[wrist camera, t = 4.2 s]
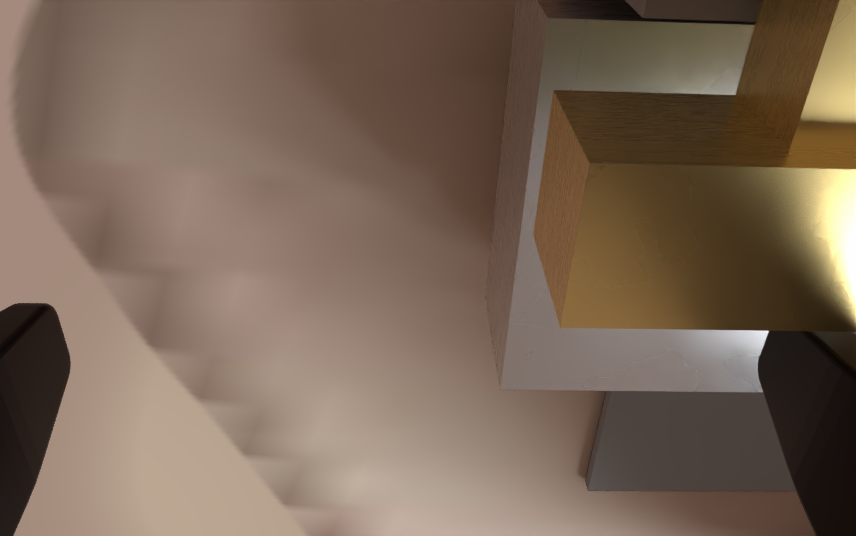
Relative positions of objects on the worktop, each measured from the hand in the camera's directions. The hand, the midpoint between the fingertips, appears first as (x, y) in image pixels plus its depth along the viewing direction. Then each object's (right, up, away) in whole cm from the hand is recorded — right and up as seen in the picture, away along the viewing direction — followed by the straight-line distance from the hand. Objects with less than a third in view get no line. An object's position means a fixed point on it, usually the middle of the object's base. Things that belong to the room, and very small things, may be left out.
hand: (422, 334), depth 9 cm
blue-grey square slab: (+9, -3, +13) cm, 16 cm away
